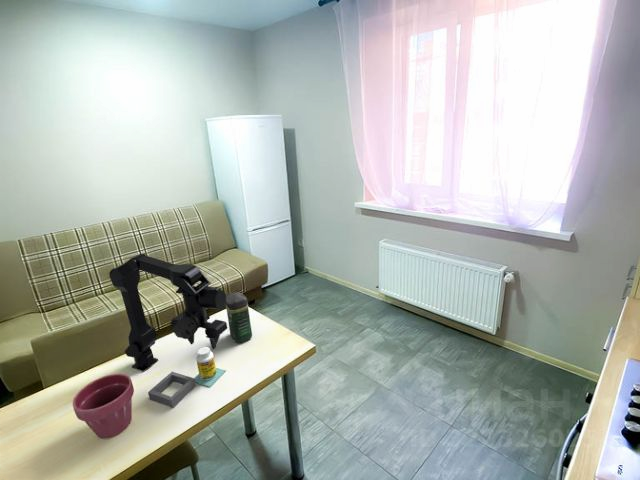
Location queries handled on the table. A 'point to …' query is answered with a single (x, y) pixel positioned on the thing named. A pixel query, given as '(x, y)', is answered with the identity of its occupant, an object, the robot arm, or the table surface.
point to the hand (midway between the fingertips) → (203, 346)
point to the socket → (157, 390)
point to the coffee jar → (238, 317)
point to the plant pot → (106, 405)
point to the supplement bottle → (206, 363)
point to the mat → (210, 382)
